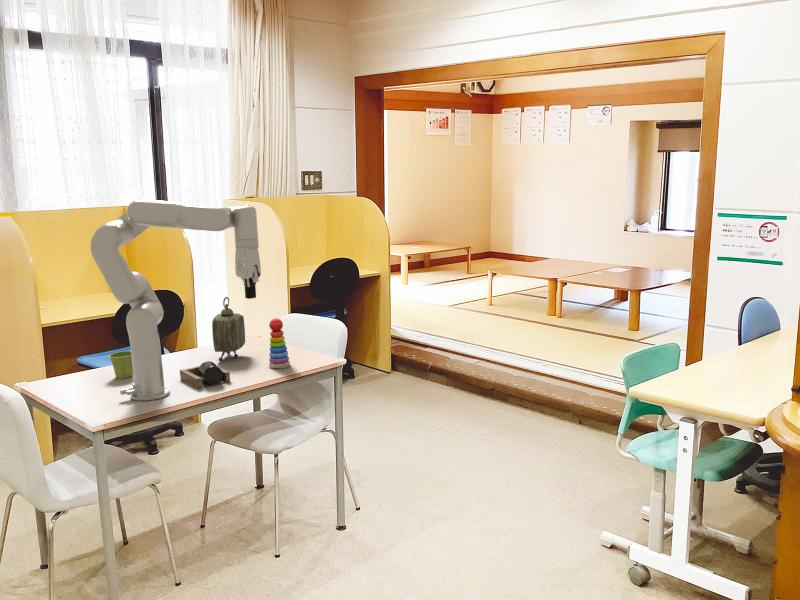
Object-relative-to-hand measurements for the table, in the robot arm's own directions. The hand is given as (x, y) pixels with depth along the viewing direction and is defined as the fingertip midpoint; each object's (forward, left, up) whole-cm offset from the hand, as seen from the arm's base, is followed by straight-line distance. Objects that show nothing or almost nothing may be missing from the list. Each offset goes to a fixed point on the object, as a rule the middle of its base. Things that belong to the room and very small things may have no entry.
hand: (250, 297), depth 242 cm
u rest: (-9, +22, -32) cm, 40 cm away
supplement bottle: (-9, +14, -28) cm, 33 cm away
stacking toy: (+20, +20, -32) cm, 43 cm away
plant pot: (-29, +50, -32) cm, 66 cm away
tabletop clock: (+12, +45, -32) cm, 57 cm away
